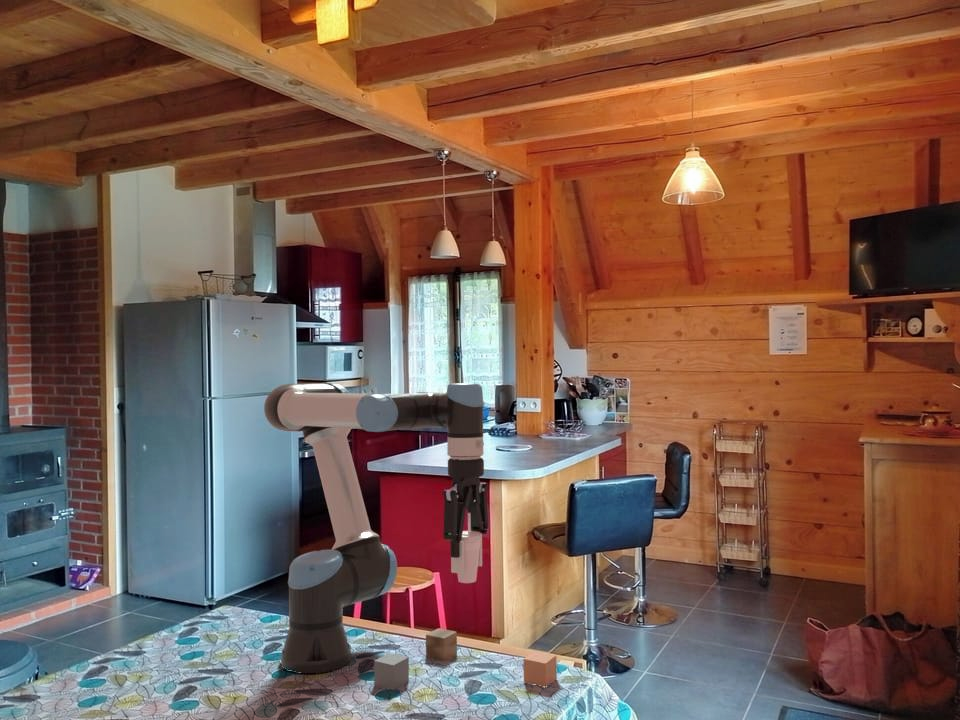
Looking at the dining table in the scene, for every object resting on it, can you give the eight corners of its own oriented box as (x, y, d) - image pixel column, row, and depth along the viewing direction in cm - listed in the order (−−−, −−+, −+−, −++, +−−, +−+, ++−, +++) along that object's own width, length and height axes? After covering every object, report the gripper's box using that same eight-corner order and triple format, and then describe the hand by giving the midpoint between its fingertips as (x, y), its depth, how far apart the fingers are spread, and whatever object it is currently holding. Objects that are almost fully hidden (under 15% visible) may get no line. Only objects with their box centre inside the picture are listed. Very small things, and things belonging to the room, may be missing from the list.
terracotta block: (523, 683, 153) (523, 658, 153) (535, 675, 157) (534, 651, 157) (545, 688, 150) (545, 663, 150) (556, 679, 154) (556, 655, 154)
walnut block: (426, 657, 168) (425, 634, 168) (438, 650, 172) (438, 628, 172) (444, 661, 165) (444, 638, 165) (456, 654, 170) (456, 631, 170)
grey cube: (374, 685, 153) (374, 660, 153) (389, 677, 157) (389, 652, 157) (393, 690, 150) (393, 665, 150) (408, 681, 154) (408, 657, 154)
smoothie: (479, 585, 151) (478, 516, 151) (448, 584, 152) (447, 515, 153) (485, 577, 157) (484, 510, 158) (455, 576, 159) (455, 509, 159)
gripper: (455, 462, 145) (456, 582, 145) (504, 453, 162) (505, 561, 161) (423, 461, 149) (425, 577, 149) (475, 452, 166) (476, 557, 165)
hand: (467, 568), depth 155 cm, fingers closed on smoothie, 6 cm apart
